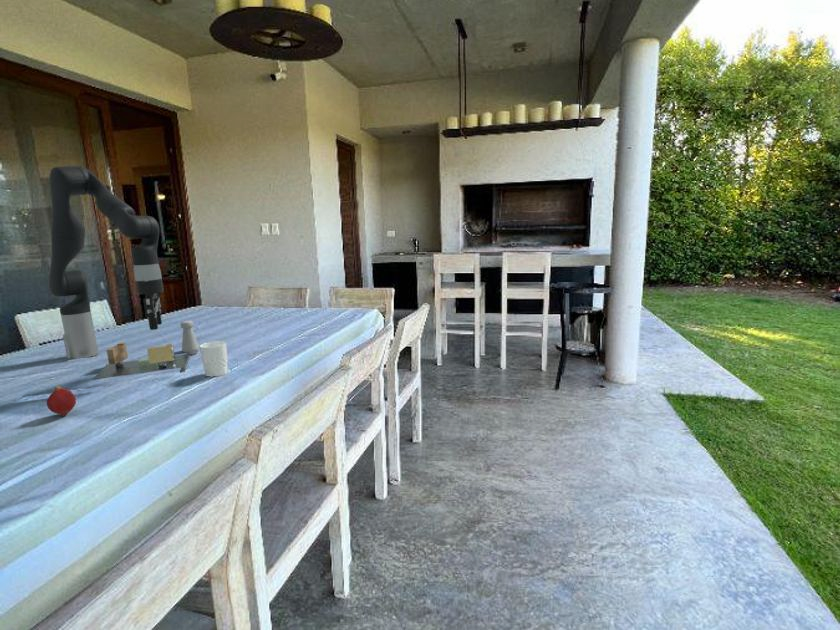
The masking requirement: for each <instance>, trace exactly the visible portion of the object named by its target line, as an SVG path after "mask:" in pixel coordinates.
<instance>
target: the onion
mask: <svg viewBox="0 0 840 630" xmlns="http://www.w3.org/2000/svg"><path fill="white" fill-rule="evenodd" d="M76 399H77V398H76V395H74V394H73V392H72V391H70V390H69V389H66V388H62V387H61V386H56V387H54V391H53V392H51V393H50V395H49V396H48V398H47V400H46V406H47V408H48V409H49V411H50V412H52V413H54V414H57V415H59V416H62V417H63V416H66V415H68V413H70V412H71V411H72V410H73V409H74V407H75V405H76V403H77V400H76Z"/></svg>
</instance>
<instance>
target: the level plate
mask: <svg viewBox="0 0 840 630" xmlns="http://www.w3.org/2000/svg"><path fill="white" fill-rule="evenodd" d="M174 349H175V348H174V346H172V350H173V357H174V360H173V361H166V365H167V366H166V367H158V363H150V364H149V358H148V357H147V358H140V359H136V360H128V361H123V364H124V366H122V367H115V364H109V363H107V364H105V365H104V367H103V368H102V369H100V371H99V372H98V373H97V374H96V375H95V376H94V377H93V378H91V379H92V380H99V379H109V378H114V377H115V378H116V377H122V376H128V375H129V376H131V375H138V374H145V373H152V372H159V371H166V370H174V369H180V370H179V373H183V372H182V371H184V372H186V371H187V368H188V365H187V364H189V362H190V359H191V356H190V354H187V353H185V354H177V355H175V350H174ZM188 361H189V362H188ZM186 367H187V368H186ZM185 370H186V371H185Z"/></svg>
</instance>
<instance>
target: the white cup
mask: <svg viewBox="0 0 840 630" xmlns="http://www.w3.org/2000/svg"><path fill="white" fill-rule="evenodd" d="M198 346H199V352H200V357H201V363H202V367H203V369H204V376H206V377H207V376H210V378H213V376H216V377H221V376H224V375H226V374H228V372H229V370H228V368H229V367H228V351H227V350H228V349H227V342H226V341H221V340H220V341H219V340H218V341H209V342H204V343H202V344H200V345H198Z"/></svg>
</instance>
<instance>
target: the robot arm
mask: <svg viewBox="0 0 840 630" xmlns="http://www.w3.org/2000/svg"><path fill="white" fill-rule="evenodd" d="M49 189H50V197H51V211H52V212H51V238H50V239H51V240H50V241H51V257H50V258H51V261H50V267H49V276H48V286H49V291H50V293H51V295H53V296H54V297H60V298H61V297H69V296H75V297H74V299H72V300H71V301H69V302H68V303H65V304H64V305H62V306H60V307H59V313H60V318H61V323H62V328H63V334H62V338H63V343H64V349H65V353H66V359H67V360H80V359H86V358H87V359H88V358H91V356H92V357H94V356H97V355H99V347H98V344H97V336H96V332H95V327H94V321H93V315H92V310H91V303H90V295H89V287H88V280H87V277H86V275H85V273H84V272H83V271H82V270H79V269H78V270H76V269H75V270H67V268H68V265H69V264H70V263H71V262H72V261H73V260H74V259H75V258H76V257H77V256H78V255H79V254H80V252H81V251H82V250H83V249H84V246H85V238H86V237H85V236H86V229H85V226H84V225H83V223H82V222H81V220H80V219H79V217H78V216H77V215H76V214H75V213H74V211H73V210H72V208H71V203H70V199H71V196H83V195H88V196H89V195H90V196H92V197H93V198H95V201H96V202H95V203H96V206H97V209H98V210H99V212H100V213H101V214H102V215H103V216H105V217H106V218H107V219H109V220H110V221H112V222H113V223H114V224H115V226H116V227H117V228H118V230H119V231H120V232H121V234H122V235H123V236H125V237H127V238H129V239H141V243H140V244H139V245H137V246H134V247H132V248H131V253H130V254H131V257H132V265H133V275H134V281H135V282H134V283H135V288H136V293H137V294H138V295H145V296H144V297H145V298H143V300H142V302H143V306H144V313H145V314H144V316H145V318H146V319H147V320H148V326H149V330H150V331H153V330H154V331H155V330H158V328H159V326H158V325H162V324H163V323H162V315H161V314H162V310H163V309H162V305H161V299H160V294H159V293H163V292H164V284H163V278H162V270H161V268H160V267H161V266H160V263H159V257H158V246H159V238H160V226H159V223H158V220H156V219H155V217H153V216H150V215H136V212H135V210H134V208H133V207H131V206H130V205H129V204H127V203H126V202H124V201H123V200H121V199H120V198H118V196H116V195H114V193H112V191H110V189H108V188H107V187H106V185H105V184H104V183H103V182H102V181H101V180H100V179H99V178H98V177H97V176H96V175H95V174H94V173H93V172H92V171H90V170H89V169H88V168H87V167H84V166H80V165H79V166H78V165H77V166H76V165H73V166H72V165H67V166H64V165H63V166H55V167H52V168H51V170H50V173H49Z"/></svg>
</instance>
